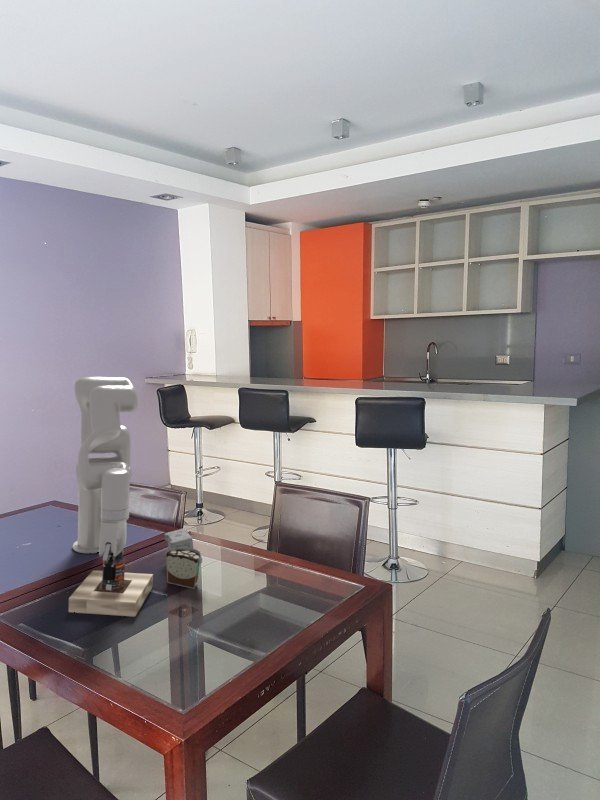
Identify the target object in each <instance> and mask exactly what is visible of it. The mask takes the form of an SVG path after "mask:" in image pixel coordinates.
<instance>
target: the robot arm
mask: <svg viewBox="0 0 600 800" xmlns="http://www.w3.org/2000/svg"><path fill="white" fill-rule="evenodd" d="M74 395H75V399H76V400H77V404H78V406H79V409H80V417H81V420H80V421H81V423H80V424H81V427H80V429H81V430H80V434H81V435H80V442H81V443H80V444H81V446H80V448H79V451H78V455H77V456H78V457H77V463H76V467H75V474H76V480H77V489H78V490H77V493H78V495H77V501H78V503H77V504H78V506H77V540H75V541H74V542H73V544H72V550H74V551H75V553H76V552H77V553H80V554H88V555H89V554H90V553H91V554H97V552H99V553H98V555H99V557H102V556H103V557H102V567H103V566H104V577H103V579H104V580H115V579H116V566H115V559H116V556H117V555H118V554H119V553H120V552H121V551H122V557H124V553H125V552H124V548H125V546H126V544H127V534H128V533H127V532H128V531H127V528H128V527H127V526H128V525H127V520H129V518H130V493H131V492H130V489H131V488H130V487H131V485H130V484H131V480H132V469H131V447H132V446H131V433H130V430H129V428H127V427H126V426H125V425H122V423H121V417H120V413H133V412H135V411H136V410H137V408H138V406H139V405H138V404H139V398H138V393H137V389H136V388H135V386H134V384H133V383H132V382H131V380H130V379H128V378H127V377H119V376H118V377H116V376H113V377H111V376H110V377H109V376H85V377H80V378H78V379H77V380H75V382H74ZM89 454H90V455H91V454H93V455H94V454H95V455H97V454H100V455H101V454H115V455H116V456H113V455H112V456H91V457H89ZM110 553H113V555H110ZM109 557H111V558H112V561H111V560H109ZM103 563H104V565H103Z"/></svg>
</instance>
